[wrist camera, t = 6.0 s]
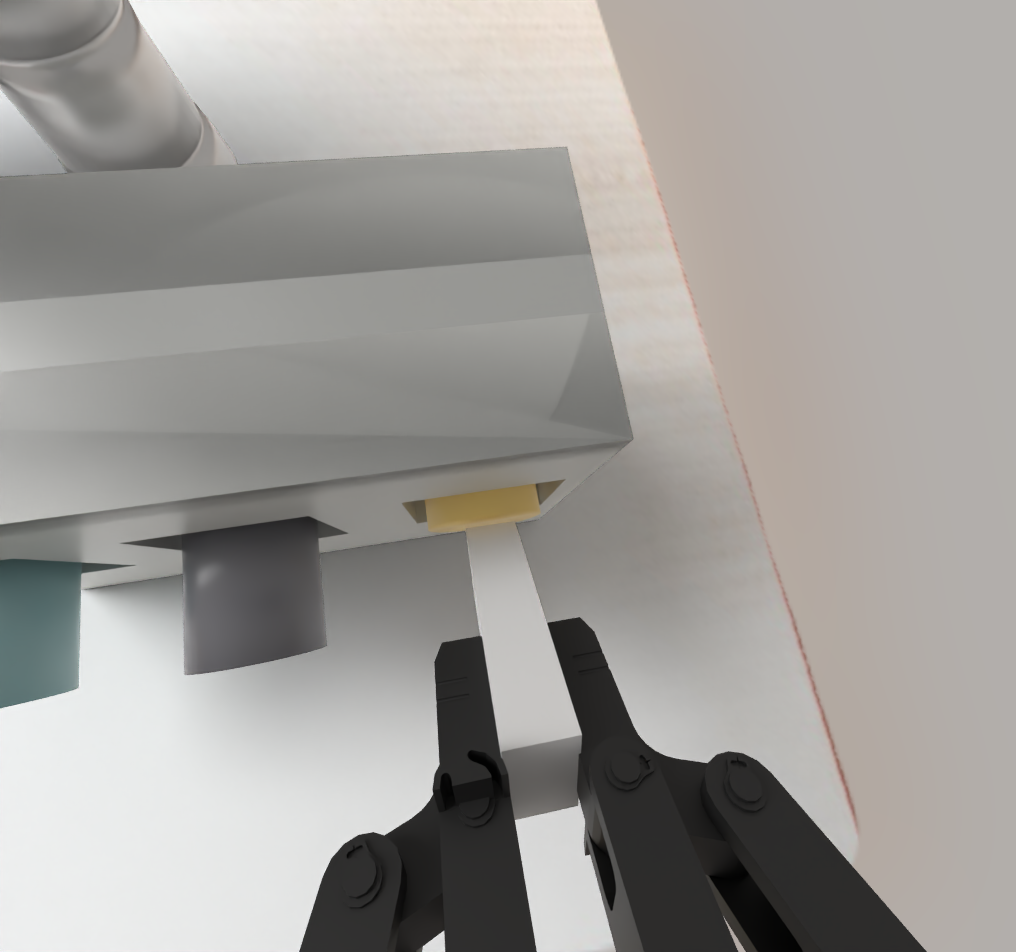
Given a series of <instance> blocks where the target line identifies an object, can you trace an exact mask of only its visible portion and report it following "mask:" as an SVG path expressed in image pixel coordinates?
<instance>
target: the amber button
mask: <svg viewBox="0 0 1016 952" xmlns="http://www.w3.org/2000/svg"><path fill="white" fill-rule="evenodd" d="M425 507H426V515H427V523H428V531H430V532H438V533H443V532H459V531H466V530H465V528H472V527H479V526H485V525H492V524H499V523H506V522H512V521H515V522H518V521H522V520H526V519H529V518H532V517H535V516H537V515H539V514H540V513H541V512H540V506H539V501H538V495H537V489H536V484H529V485H522V486H515V487H508V488H501V489H494V490H487V491H480V492H473V493H466V494H459V495H452V496H445V497H438V498H431V499H425Z"/></svg>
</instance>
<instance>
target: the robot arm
mask: <svg viewBox="0 0 1016 952" xmlns="http://www.w3.org/2000/svg"><path fill="white" fill-rule="evenodd" d="M465 530H466V537H467V545H468V553H469V561H470V569H471V577H472V584H473V592H474V599H475V605H476V612H477V618H478V625H479V631H480V636H478V637H472V638H466V639H461V640H455V641H450V642H444V643H442V644H441V647H440V649H439V652H438V655H437V657H436V660H435V681H436V700H437V721H438V741H439V761H440V765H439V767H438V769H437V771H436V773H435V776H434V783H433V796H432V798H431V799H430V801H429V802H428V803H427V805H426V806H425V807H424V808H423V809H422V811H420V812H419V813H418V814H417V815H415V816H414V817H413V818H412V819H410V820H408V821H407V822H405V823H404V824H402V825H400V826H399V827H397V828H396V829H394V830H393V831H391V832H389V833H388V834H386V835H385V836H384V835H381V834H377V833H374V832H373V833H367V834H361V835H358V836H356V837H355V838H353V839H351V840H350V841H348V842H347V843H345V844H344V845H343V846H342V847H341V848H340V849H339V851H338V852H337V853H336V854H335V855H334V856H333V857H332V859H331V861H330V863H329V865H328V867H327V869H326V871H325V873H324V876H323V878H322V881H321V884H320V888H319V891H318V894H317V897H316V900H315V903H314V907H313V910H312V913H311V916H310V919H309V922H308V926H307V929H306V932H305V935H304V938H303V942H302V945H301V948H300V951H299V952H422V947H423V946H424V945H425V944H426V943H428V942H429V941H430V940H432V939H433V938H434V937H436V936H437V935H438V934H440V933H441V932H442V931H445V952H537V951H536V945H535V939H534V933H533V927H532V921H531V915H530V909H529V903H528V897H527V891H526V885H525V879H524V873H523V867H522V861H521V855H520V849H519V843H518V837H517V831H516V825H515V820H517V819H521V818H526V817H530V816H534V815H539V814H543V813H548V812H552V811H557V810H561V809H565V808H570V807H574V806H578V798H579V800H580V803H581V807H582V811H583V814H584V818H585V834H584V848H585V856H586V855H591V859H592V862H593V866H594V870H595V874H596V877H597V881H598V885H599V889H600V892H601V896H602V900H603V904H604V907H605V911H606V915H607V919H608V922H609V926H610V930H611V934H612V937H613V941H614V945H615V949H616V952H738V950H737V948H736V946H735V943H734V941H733V938H732V936H731V934H730V931H729V929H728V927H727V924H726V922H725V920H724V918H725V919H726V921H727V922H728V924H729V926H730V927H731V929H732V930H733V932H734V934H735V935H736V937H737V938H738V940H739V942H740V943H741V945H742V946H743V948H744V949H745V951H746V952H926V950H925V949H924V948H923V947H922V946H921V945H920V944H919V943H918V941H917V940H916V939H915V938H914V937H913V936H912V934H911V933H910V932H909V931H908V930H907V929H906V927H905V926H904V925H903V924H902V923H901V922H900V921H899V919H898V918H897V917H896V916H895V915H894V914H893V913H892V911H891V910H890V909H889V908H888V907H887V906H886V904H885V903H884V902H883V901H882V900H881V899H880V898H879V896H878V895H877V894H876V893H875V892H874V891H873V890H872V888H871V887H870V886H869V885H868V884H867V883H866V881H865V880H864V879H863V878H862V877H861V876H860V875H859V873H858V872H857V871H856V870H855V869H854V868H853V867H852V865H851V864H850V863H849V862H848V861H847V860H846V858H845V857H844V856H843V855H842V854H841V853H840V852H839V850H838V849H837V848H836V847H835V846H834V845H833V844H832V842H831V841H830V840H829V839H828V838H827V837H826V836H825V834H824V833H823V832H822V831H821V830H820V829H819V827H818V826H817V825H816V824H815V823H814V822H813V821H812V819H811V818H810V817H809V816H808V815H807V814H806V813H805V811H804V810H803V809H802V808H801V807H800V806H799V804H798V803H797V802H796V801H795V800H794V799H793V798H792V796H791V795H790V794H789V793H788V792H787V791H786V790H785V788H784V787H783V786H782V785H781V784H780V783H779V781H778V780H777V779H776V778H775V777H774V776H773V775H772V773H771V772H770V771H768V770H767V769H766V768H765V767H764V766H763V765H762V764H761V763H759V762H758V761H757V760H755V759H753V758H751V757H749V756H747V755H745V754H743V753H736V752H729V751H728V752H725V753H721V754H717V755H716V756H715V757H714V758H713V759H712V760H711V761H710V762H709V763H702V762H695V761H688V760H681V759H675V758H671V757H668V756H664V755H662V754H661V753H659V752H657V751H655V750H653V749H652V748H651V747H650V746H648V745H647V744H646V743H645V742H644V741H643V740H642V739H641V738H640V736H639V735H638V734H637V732H636V730H635V728H634V726H633V724H632V722H631V719H630V717H629V715H628V712H627V710H626V707H625V705H624V702H623V700H622V698H621V695H620V693H619V690H618V688H617V686H616V683H615V681H614V678H613V676H612V673H611V671H610V669H609V668H608V664H607V661H606V659H605V657H604V654H603V653H602V649H601V647H600V644H599V642H598V640H597V637H596V635H595V632H594V631H593V630H592V629H591V628H590V627H589V626H588V625H587V624H586V623H585V622H584V621H583V620H582V619H581V618H580V617H578V618H572V619H567V620H561V621H556V622H550V623H547V622H546V618H545V615H544V612H543V609H542V606H541V602H540V599H539V596H538V593H537V590H536V586H535V583H534V580H533V577H532V574H531V571H530V567H529V564H528V561H527V558H526V555H525V551H524V548H523V545H522V542H521V539H520V535H519V532H518V529H517V526H516V523H515V521H512V522H506V523H499V524H492V525H485V526H479V527H472V528H465ZM723 916H724V917H723Z"/></svg>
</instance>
